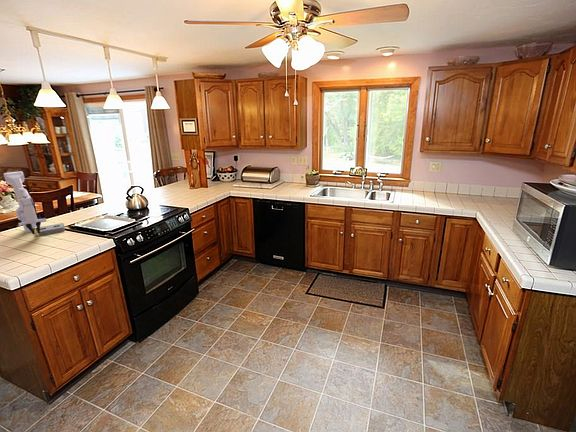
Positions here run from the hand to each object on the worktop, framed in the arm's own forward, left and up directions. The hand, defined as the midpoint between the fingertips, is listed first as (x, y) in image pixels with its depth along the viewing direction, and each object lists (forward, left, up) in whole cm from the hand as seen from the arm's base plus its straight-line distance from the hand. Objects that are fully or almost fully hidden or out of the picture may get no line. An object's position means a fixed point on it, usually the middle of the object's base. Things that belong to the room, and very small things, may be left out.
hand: (36, 233), depth 203 cm
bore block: (-10, +7, -3) cm, 13 cm away
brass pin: (0, 0, -2) cm, 2 cm away
